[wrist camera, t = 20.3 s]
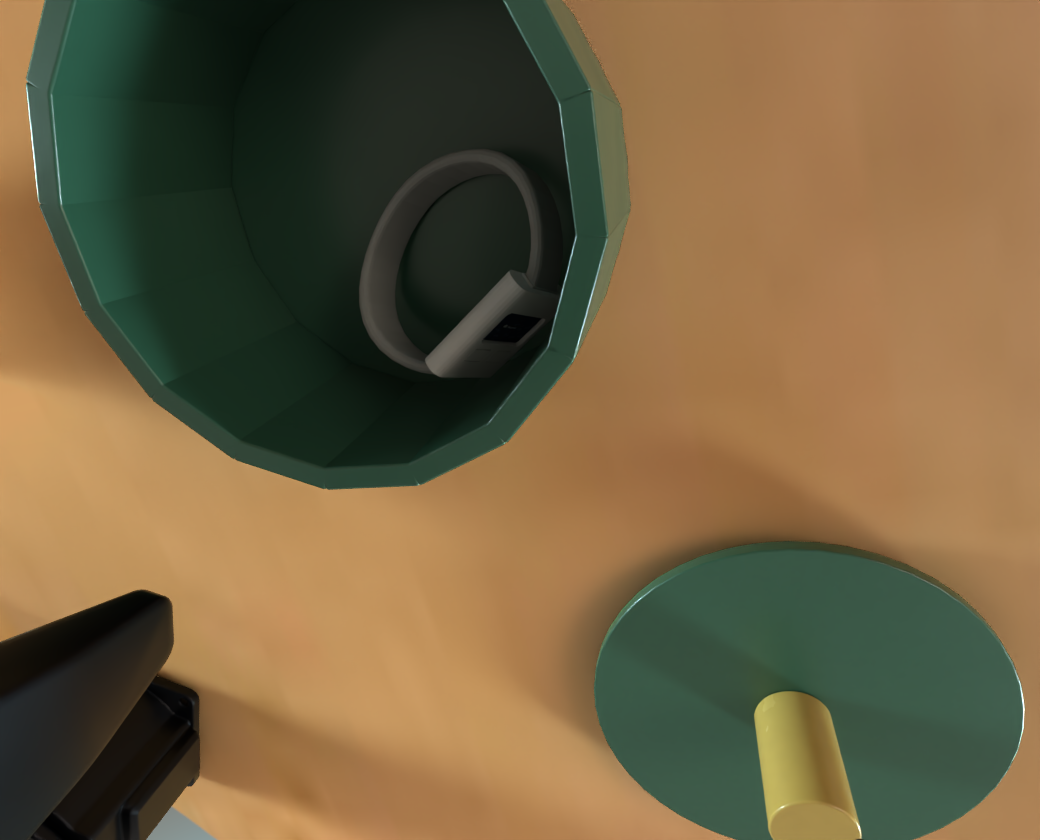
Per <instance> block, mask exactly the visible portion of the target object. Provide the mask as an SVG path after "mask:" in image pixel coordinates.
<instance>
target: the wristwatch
mask: <svg viewBox="0 0 1040 840" xmlns="http://www.w3.org/2000/svg"><path fill="white" fill-rule="evenodd" d="M487 174H503V175H507V176H509V177H510V178H511V179H512V180H513V181H514V182H515V183H516V184H517V186H518V188H519V190H520V192H521V194H522V196H523V198H524V201H525V205H526V208H527V211H528V216H529V222H530V229H531V252H530V259H529V267H528V269H527V272H526V273H521V272H517V271H514V270H510V271H509V272H508V273H507V274H506V275H505V276H504V277H503V278H502V279H501V280H500V281H499V282H498V283H497V284H496V285H495V286H494V287H493V288H492V289H491V290H490V291H489V292H488V294H487V295H486V296H485V297H484V298H483V299H482V300H481V301H480V302H479V303H478V304H477V305H476V306H475V307H474V308H473V309H472V310H471V311H470V312H469V313H468V314H467V315H466V317H465V318H464V319H463V320H462V321H461V322H460V323H459V324H458V325H457V326H456V327H455V328H454V329H453V330H452V331H451V332H450V333H449V334H448V335H447V336H446V337H445V338H444V339H443V341H442V342H441V343H440V344H439V345H438V346H437V347H436V348H435V349H434V350H433V351H432V352H431V353H430V354H429V355H427V354H425V353H423V352H422V351H421V350H420V349H418V348H417V347H416V346H415V345H414V344H413V343H412V342H411V341H410V339H409V338H408V337H407V335H406V334H405V333H404V331H403V328H402V326H401V324H400V322H399V319H398V315H397V310H396V303H395V288H396V279H397V274H398V270H399V265H400V262H401V259H402V256H403V253H404V250H405V247H406V245H407V243H408V241H409V239H410V236H411V234H412V233H413V231H414V229H415V227H416V226H417V224H418V222H419V221H420V219H421V218H422V216H423V215H424V214H425V212H426V211H427V210H428V208H429V207H430V206H431V205H432V204H433V203H434V202H435V201H436V200H437V199H438V198H439V197H440V196H441V195H443V194H444V193H445V192H446V191H448V190H449V189H450V188H452V187H454V186H456V185H457V184H459V183H461V182H463V181H466V180H468V179H471V178H474V177H477V176H482V175H487ZM562 259H563V238H562V230H561V223H560V217H559V214H558V210H557V207H556V203H555V200H554V198H553V196H552V194H551V192H550V190H549V188H548V186H547V184H546V183H545V182H544V181H543V180H542V179H541V177H540V176H539V175H538V174H537V173H536V172H535V171H533V170H531V169H530V168H528V167H526V166H524V165H523V164H521V163H519V162H518V161H516V160H514V159H512V158H511V157H509V156H507V155H505V154H504V153H502V152H498V151H493V150H488V149H466V150H462V151H458V152H453V153H449V154H447V155H445V156H442V157H440V158H437V159H435V160H433V161H431V162H430V163H428V164H427V165H425V166H423V167H422V168H420V169H419V170H418V171H417V172H415V173H414V174H413V175H412V176H411V177H410V178H409V179H407V180H406V182H405V183H404V184H403V185H402V186H401V187H400V188H399V190H398V191H397V192H396V193H395V195H394V196H393V198H392V199H391V201H390V202H389V204H388V205H387V207H386V208H385V210H384V212H383V214H382V216H381V218H380V220H379V221H378V223H377V226H376V228H375V230H374V233H373V235H372V237H371V240H370V243H369V246H368V249H367V252H366V254H365V258H364V263H363V267H362V271H361V278H360V286H359V306H360V311H361V315H362V320H363V324H364V326H365V328H366V330H367V332H368V334H369V337H370V338H371V339H372V341H373V342H374V343H375V344H376V346H377V347H378V348H379V350H381V351H382V352H383V353H384V354H385V355H387V356H388V357H389V358H390V359H392V360H393V361H395V362H397V363H399V364H401V365H402V366H404V367H406V368H409V369H412V370H415V371H418V372H421V373H427V374H435V375H437V376H439V377H455V378H490V377H491V376H493V375H494V374H495V373H496V372H497V371H498V370H499V369H500V368H501V367H502V366H503V365H504V364H505V363H506V362H507V361H508V360H509V359H510V358H511V357H512V356H513V355H514V354H516V353H517V352H518V351H519V350H520V349H521V348H522V347H523V346H524V345H525V344H526V343H527V342H528V341H529V340H530V339H531V338H532V337H533V336H534V335H535V334H536V333H537V332H539V331H540V330H541V329H542V328H543V327H544V326H545V325H546V324H547V323H548V322H549V321H550V320H551V319H552V318H553V317H554V316H555V314H556V310H557V306H558V302H559V298H560V294H561V291H562V287H560V286H559V285H558V283H559V279H560V275H561V268H562Z"/></svg>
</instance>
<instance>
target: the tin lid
mask: <svg viewBox="0 0 1040 840" xmlns="http://www.w3.org/2000/svg"><path fill="white" fill-rule="evenodd" d="M594 695H595V707H596V711H597V715H598V719H599V723H600V726H601V728H602V731H603V733H604V735H605V738H606V740H607V743H608V744H609V746H610V748H611V749H612V751H613V753H614V754H615V756H616V758H617V759H618V761H619V762H620V763H621V764H622V766H623V767H624V768H625V769H626V771H627V772H628V773H629V775H630V776H631V777H632V778H633V779H634V780H635V781H636V782H637V783H638V784H639V785H640V786H641V787H642V788H643V789H644V790H646V791H647V792H648V793H649V794H651V795H652V796H653V797H654V798H656V799H657V800H658V801H659V802H661V803H662V804H663V805H665V806H667V807H668V808H670V809H671V810H673V811H674V812H676V813H677V814H679V815H680V816H682V817H684V818H686V819H688V820H690V821H692V822H694V823H696V824H698V825H700V826H702V827H704V828H706V829H709V830H711V831H714V832H716V833H719V834H721V835H724V836H727V837H730V838H733V839H736V840H856V839H863V840H913V839H916V838H919V837H922V836H924V835H927V834H929V833H931V832H934V831H936V830H938V829H941V828H943V827H944V826H946V825H948V824H950V823H951V822H953V821H955V820H957V819H959V818H960V817H962V816H963V815H965V814H966V813H967V812H969V811H970V810H971V809H973V808H974V807H975V806H977V805H978V804H979V803H981V802H982V801H983V800H984V799H985V798H986V797H987V796H988V795H989V794H990V793H991V792H992V791H993V790H994V789H995V788H996V786H997V785H998V784H999V782H1000V781H1001V779H1002V778H1003V777H1004V775H1005V774H1006V772H1007V771H1008V770H1009V768H1010V766H1011V764H1012V762H1013V760H1014V757H1015V755H1016V753H1017V751H1018V748H1019V745H1020V741H1021V737H1022V733H1023V728H1024V708H1025V706H1024V700H1023V693H1022V687H1021V683H1020V680H1019V677H1018V674H1017V672H1016V669H1015V666H1014V663H1013V661H1012V660H1011V658H1010V656H1009V655H1008V653H1007V651H1006V649H1005V648H1004V646H1003V644H1002V643H1001V641H1000V639H999V638H998V636H997V635H996V633H995V632H994V631H993V629H992V628H991V627H990V626H989V625H988V623H987V622H986V621H985V620H984V619H983V617H982V616H981V615H980V614H979V613H978V612H977V611H976V610H975V609H974V608H973V607H972V606H971V605H969V604H968V603H967V602H966V601H965V600H964V599H963V598H962V597H960V596H959V595H958V594H957V593H955V592H954V591H952V590H951V589H949V588H948V587H946V586H945V585H943V584H942V583H940V582H939V581H937V580H936V579H934V578H933V577H931V576H929V575H927V574H925V573H923V572H921V571H919V570H917V569H915V568H913V567H911V566H909V565H907V564H904V563H901V562H899V561H896V560H893V559H891V558H888V557H885V556H882V555H880V554H876V553H872V552H868V551H864V550H860V549H856V548H852V547H848V546H841V545H834V544H827V543H820V542H800V541H780V542H765V543H754V544H749V545H743V546H737V547H732V548H727V549H723V550H720V551H717V552H713V553H710V554H706V555H703V556H700V557H698V558H695V559H693V560H691V561H688V562H686V563H684V564H681V565H679V566H677V567H675V568H673V569H672V570H670V571H668V572H666V573H665V574H663V575H661V576H660V577H658V578H656V579H655V580H654V581H652V582H651V583H650V584H648V585H647V586H646V587H645V588H643V589H642V590H641V591H639V592H638V593H637V594H636V595H635V596H634V597H633V598H632V599H631V600H630V601H629V602H628V603H627V604H626V606H625V607H624V608H623V609H622V610H621V611H620V613H619V614H618V616H617V617H616V619H615V620H614V621H613V623H612V624H611V626H610V628H609V630H608V632H607V634H606V636H605V638H604V640H603V642H602V645H601V649H600V652H599V656H598V660H597V665H596V672H595V682H594Z"/></svg>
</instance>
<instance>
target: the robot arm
mask: <svg viewBox="0 0 1040 840" xmlns="http://www.w3.org/2000/svg"><path fill="white" fill-rule="evenodd" d="M173 643H174V632H173V609H172V603H171V601H170V599H169V598H167V597H166V596H163V595H160V594H157V593H154V592H151V591H148V590H136V591H133V592H130V593H127V594H125V595H122V596H119V597H117V598H114V599H112V600H109V601H106V602H104V603H101V604H98V605H96V606H93V607H91V608H88V609H85V610H83V611H80V612H77V613H75V614H72V615H70V616H67V617H64V618H62V619H59V620H56V621H54V622H51V623H49V624H46V625H43V626H41V627H38V628H36V629H33V630H30V631H28V632H25V633H22V634H20V635H17V636H15V637H12V638H9V639H7V640H4V641H1V642H0V840H146V839H147V838H148V836H149V835H150V834H151V832H152V831H153V830H154V828H155V827H156V826H157V825H158V823H159V822H160V821H161V819H162V818H163V817H164V815H165V814H166V813H167V811H168V810H169V809H170V808H171V806H172V805H173V804H174V802H175V801H176V800H177V798H178V797H179V796H180V794H181V793H182V792H183V791H184V789H185V788H186V787H187V786H192V785H193V784H194V783H195V782H196V780H197V779H198V777H199V768H200V737H199V697H198V695H197V693H196V692H194V691H193V690H192V689H190V688H187V687H185V686H182V685H179V684H177V683H174V682H171V681H169V680H166V679H163V678H161V677H158V676H156V675H157V673H158V672H159V671H160V669H161V668H162V666H163V665H164V664H165V662H166V661H167V659H168V657H169V655H170V653H171V651H172V648H173ZM856 840H863V839H856Z"/></svg>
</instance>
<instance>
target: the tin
mask: <svg viewBox="0 0 1040 840" xmlns="http://www.w3.org/2000/svg"><path fill="white" fill-rule="evenodd" d="M26 80H27V82H28V83H26V92H27V101H28V111H29V120H30V130H31V139H32V149H33V158H34V168H35V177H36V187H37V196H38V201H39V203H41V204H40V209H41V211H42V214H43V216H44V219H45V221H46V223H47V226H48V228H49V231H50V233H51V236H52V238H53V240H54V243H55V245H56V248H57V250H58V252H59V255H60V257H61V260H62V262H63V264H64V267H65V269H66V272H67V274H68V276H69V279H70V281H71V284H72V286H73V289H74V291H75V293H76V296H77V298H78V301H79V303H80V305H81V308H82V310H83V311H86V312H85V315H86V316H87V318H88V319H89V320H90V321H91V323H92V324H93V325H94V326H95V328H96V329H97V330H98V332H99V333H100V334H101V335H102V337H103V338H104V339H105V341H106V342H107V343H108V344H109V346H110V347H111V348H112V350H113V351H114V352H115V353H116V355H117V356H118V357H119V358H120V360H121V361H122V362H123V364H124V365H125V366H126V367H127V369H128V370H129V371H130V373H131V374H132V375H133V376H134V378H135V379H136V380H137V382H138V383H139V384H140V385H141V387H142V388H143V389H144V390H145V392H146V393H147V394H148V396H149V397H151V398H152V400H153V401H154V402H156V403H157V404H158V405H160V406H161V407H162V408H164V409H165V410H167V411H168V412H169V413H171V414H172V415H173V416H175V417H176V418H178V419H179V420H180V421H182V422H183V423H184V424H186V425H187V426H189V427H190V428H191V429H193V430H194V431H195V432H197V433H198V434H200V435H201V436H202V437H204V438H205V439H206V440H208V441H209V442H211V443H212V444H213V445H215V446H216V447H217V448H219V449H220V450H222V451H223V452H224V453H226V454H227V455H228V456H230V457H231V458H233V459H236V460H237V461H240V462H243V463H246V464H249V465H252V466H256V467H259V468H262V469H265V470H268V471H271V472H274V473H277V474H280V475H283V476H286V477H289V478H292V479H295V480H298V481H301V482H304V483H307V484H310V485H313V486H316V487H319V488H322V489H326V488H327V489H328V490H330V489H353V488H376V487H400V486H417V485H419V484H420V485H422V484H424V483H426V482H428V481H430V480H432V479H435V478H437V477H439V476H441V475H443V474H445V473H447V472H449V471H451V470H453V469H455V468H457V467H459V466H461V465H463V464H465V463H467V462H469V461H471V460H473V459H475V458H477V457H479V456H482V455H484V454H486V453H488V452H490V451H492V450H494V449H496V448H498V447H500V446H502V445H504V444H505V443H506V442H508V441H509V440H510V439H511V438H512V436H513V435H514V434H515V433H516V432H517V430H518V429H519V428H520V427H521V425H522V424H523V423H524V422H525V421H526V419H527V418H528V417H529V416H530V414H531V413H532V412H533V411H534V409H535V408H536V407H537V406H538V405H539V403H540V402H541V401H542V400H543V398H544V397H545V396H546V395H547V394H548V392H549V391H550V390H551V389H552V387H553V386H554V385H555V384H556V382H557V381H558V380H559V379H560V378H561V376H562V375H563V374H564V373H565V371H566V370H567V369H568V368H569V366H570V365H571V364H572V363H573V361H574V359H575V357H576V356H577V353H578V351H579V349H580V347H581V345H582V343H583V341H584V339H585V337H586V335H587V333H588V331H589V329H590V326H591V324H592V322H593V320H594V318H595V316H596V314H597V312H598V310H599V308H600V306H601V304H602V302H603V299H604V297H605V295H606V293H607V289H608V286H609V282H610V279H611V275H612V272H613V268H614V265H615V262H616V258H617V255H618V253H619V249H620V245H621V241H622V237H623V234H624V230H625V227H626V223H627V220H628V216H629V213H630V206H631V201H630V191H629V181H628V161H627V152H626V146H625V140H624V130H623V120H622V109H621V107H620V103H619V101H618V99H617V97H616V95H615V93H614V91H613V90H612V88H611V86H610V84H609V82H608V80H607V78H606V76H605V74H604V72H603V70H602V67H601V65H600V63H599V61H598V59H597V57H596V56H595V54H594V53H593V51H592V49H591V47H590V45H589V43H588V41H587V39H586V37H585V35H584V33H583V31H582V30H581V28H580V26H579V24H578V22H577V20H576V18H575V16H574V14H573V13H572V12H571V11H570V9H569V8H568V7H567V6H566V5H565V3H564V2H563V1H562V0H45V2H44V6H43V10H42V14H41V18H40V23H39V27H38V31H37V35H36V39H35V43H34V48H33V52H32V56H31V60H30V64H29V68H28V72H27V77H26ZM466 149H488V150H493V151H498V152H502V153H504V154H505V155H507V156H509V157H511V158H512V159H514V160H516V161H518V162H519V163H521V164H523V165H524V166H526V167H528V168H530V169H531V170H533V171H535V172H536V173H537V174H538V175H539V176H540V177H541V179H542V180H543V181H544V182H545V183H546V184H547V186H548V188H549V190H550V192H551V194H552V196H553V198H554V200H555V203H556V207H557V210H558V214H559V217H560V223H561V230H562V238H563V259H562V268H561V275H560V279H559V283H558V285H559V286H560V287H562V291H561V294H560V298H559V302H558V306H557V310H556V314H555V316H554V317H553V318H552V319H551V320H550V321H549V322H548V323H547V324H546V325H545V326H544V327H543V328H542V329H541V330H540V331H539V332H537V333H536V334H535V335H534V336H533V337H532V338H531V339H530V340H529V341H528V342H527V343H526V344H525V345H524V346H523V347H522V348H521V349H520V350H519V351H518V352H517V353H516V354H514V355H513V356H512V357H511V358H510V359H509V360H508V361H507V362H506V363H505V364H504V365H503V366H502V367H501V368H500V369H499V370H498V371H497V372H496V373H495V374H494V375H493V376H491V377H490V378H455V377H439V376H437V375H435V374H427V373H421V372H418V371H415V370H412V369H409V368H406V367H404V366H402V365H401V364H399V363H397V362H395V361H393V360H392V359H390V358H389V357H388V356H387V355H385V354H384V353H383V352H382V351H381V350H379V348H378V347H377V346H376V344H375V343H374V342H373V341H372V339H371V338H370V337H369V334H368V332H367V330H366V328H365V326H364V324H363V320H362V315H361V311H360V306H359V286H360V278H361V271H362V267H363V263H364V258H365V254H366V252H367V249H368V246H369V243H370V240H371V237H372V235H373V233H374V230H375V228H376V226H377V223H378V221H379V220H380V218H381V216H382V214H383V212H384V210H385V208H386V207H387V205H388V204H389V202H390V201H391V199H392V198H393V196H394V195H395V193H396V192H397V191H398V190H399V188H400V187H401V186H402V185H403V184H404V183H405V182H406V180H407V179H409V178H410V177H411V176H412V175H413V174H414V173H415V172H417V171H418V170H419V169H420V168H422V167H423V166H425V165H427V164H428V163H430V162H431V161H433V160H435V159H437V158H440V157H442V156H445V155H447V154H449V153H453V152H458V151H462V150H466ZM530 252H531V229H530V222H529V216H528V211H527V208H526V205H525V201H524V198H523V196H522V194H521V192H520V190H519V188H518V186H517V184H516V183H515V182H514V181H513V180H512V179H511V178H510V177H509V176H507V175H503V174H487V175H482V176H477V177H474V178H471V179H468V180H466V181H463V182H461V183H459V184H457V185H456V186H454V187H452V188H450V189H449V190H448V191H446V192H445V193H444V194H443V195H441V196H440V197H439V198H438V199H437V200H436V201H435V202H434V203H433V204H432V205H431V206H430V207H429V208H428V210H427V211H426V212H425V214H424V215H423V216H422V218H421V219H420V221H419V222H418V224H417V226H416V227H415V229H414V231H413V233H412V234H411V236H410V239H409V241H408V243H407V245H406V247H405V250H404V253H403V256H402V259H401V262H400V265H399V270H398V274H397V279H396V288H395V303H396V310H397V315H398V319H399V322H400V324H401V326H402V328H403V331H404V333H405V334H406V335H407V337H408V338H409V339H410V341H411V342H412V343H413V344H414V345H415V346H416V347H417V348H418V349H420V350H421V351H422V352H423V353H425V354H427V355H429V354H430V353H431V352H432V351H433V350H434V349H435V348H436V347H437V346H438V345H439V344H440V343H441V342H442V341H443V339H444V338H445V337H446V336H447V335H448V334H449V333H450V332H451V331H452V330H453V329H454V328H455V327H456V326H457V325H458V324H459V323H460V322H461V321H462V320H463V319H464V318H465V317H466V315H467V314H468V313H469V312H470V311H471V310H472V309H473V308H474V307H475V306H476V305H477V304H478V303H479V302H480V301H481V300H482V299H483V298H484V297H485V296H486V295H487V294H488V292H489V291H490V290H491V289H492V288H493V287H494V286H495V285H496V284H497V283H498V282H499V281H500V280H501V279H502V278H503V277H504V276H505V275H506V274H507V273H508V272H509V271H510V270H514V271H517V272H521V273H526V272H527V269H528V267H529V259H530Z"/></svg>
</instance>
